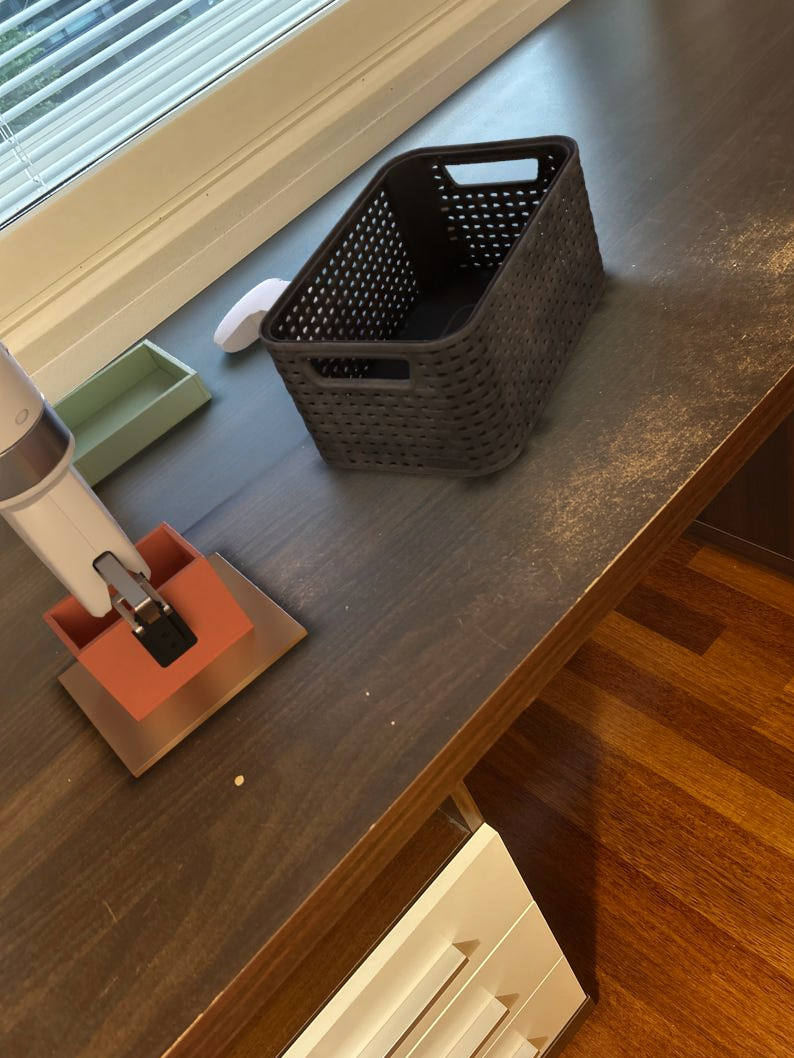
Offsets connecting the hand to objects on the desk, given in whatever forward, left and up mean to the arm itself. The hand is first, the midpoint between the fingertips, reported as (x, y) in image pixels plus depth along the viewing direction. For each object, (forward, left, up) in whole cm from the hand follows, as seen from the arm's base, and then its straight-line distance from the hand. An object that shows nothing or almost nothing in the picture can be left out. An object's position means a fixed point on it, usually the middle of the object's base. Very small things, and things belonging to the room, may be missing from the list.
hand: (150, 622), depth 76 cm
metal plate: (0, 0, -5) cm, 5 cm away
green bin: (+12, +32, -5) cm, 34 cm away
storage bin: (+36, +6, -5) cm, 37 cm away
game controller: (+30, +27, -5) cm, 41 cm away
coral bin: (0, 0, -4) cm, 4 cm away
